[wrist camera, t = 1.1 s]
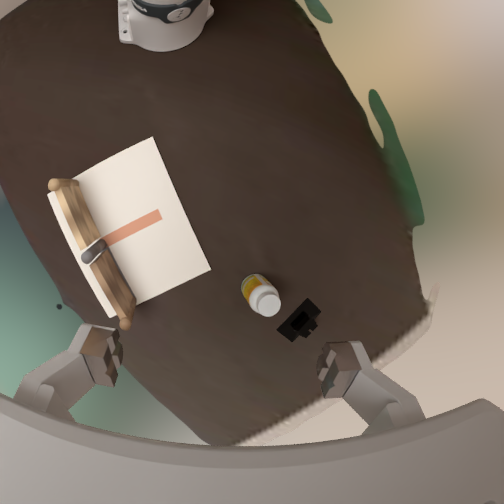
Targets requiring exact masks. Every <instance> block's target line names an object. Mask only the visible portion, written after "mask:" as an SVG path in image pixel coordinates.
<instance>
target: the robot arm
mask: <svg viewBox="0 0 504 504" xmlns="http://www.w3.org/2000/svg"><path fill="white" fill-rule="evenodd" d="M213 13H214V9H213V7H212V6H211V5H210V0H118V18H119V38H120V41H121V42H122V43H127V44H136V45H138V46H140V47H142V48H145V49H147V50H151V51H158V52H164V51H172V50H176V49H179V48H182V47H184V46H186V45H188V44H190V43H191V42H193V41H194V40H195V39H196V38H197V37H198V36H199V35H200V33H201V32H202V30H203V27H204V24H205V22H206V21H207V20H208V19H209V18H210V17H211V16H212V15H213ZM124 32H127V33H124ZM119 337H120V335H119V332H118V330H117V329H113V328H108V327H103V326H98V325H92V324H87V323H83V324H82V325H81V326H80V328H79V329H78V331H77V333H76V335H75V337H74V339H73V341H72V343H71V345H70V347H69V349H68V351H65V350H64V351H63V352H61V353H59V354H58V355H56V356H55V357H53V358H51V359H50V360H48V361H47V362H45V363H44V364H42V365H40V366H39V367H37V368H36V369H34V370H33V371H31V372H29V373H28V374H26V375H25V376H24V377H23V379H22V381H21V384H20V385H19V388H18V390H17V392H16V394H15V396H14V398H13V399H12V398H10V397H8V396H6V395H4V394H2V393H0V504H504V411H502V410H501V409H500V408H499V407H497V406H496V405H494V404H493V403H491V402H490V401H487V400H486V399H477V400H475V401H472V402H470V403H468V404H465V405H463V406H460V407H458V408H455V409H453V410H450V411H447V412H444V413H442V414H439V415H436V416H433V417H430V418H427V419H426V418H425V416H424V413H423V412H422V409H421V407H420V405H419V403H418V401H417V399H416V397H415V396H414V395H412V394H411V393H409V392H408V391H407V390H405V389H404V388H403V387H401V386H400V385H398V384H397V383H396V382H394V381H393V380H391V379H390V378H389V377H387V376H386V375H384V374H383V373H382V372H381V371H379V370H378V369H374V368H373V366H372V364H371V362H370V360H369V358H368V355H367V353H366V351H365V349H364V347H363V345H362V343H361V342H360V341H348V342H347V341H345V342H326V343H325V344H324V345H323V348H322V350H323V354H321V355H320V356H319V358H318V360H317V366H316V370H317V375H318V378H319V379H320V380H322V381H323V382H322V384H321V389H322V393H323V396H324V399H326V398H340V397H343V399H344V400H345V401H346V402H347V403H348V404H349V405H350V406H351V407H352V408H353V409H354V410H355V411H356V412H357V413H358V414H359V415H360V416H361V417H362V418H363V419H364V420H365V421H366V422H367V423H368V425H369V426H368V428H367V429H366V430H365V431H364V432H363V433H362V435H360V436H356V437H350V438H344V439H338V440H330V441H323V442H315V443H305V444H296V445H295V444H294V445H280V446H212V445H195V444H185V443H175V442H167V441H160V440H153V439H146V438H141V437H135V436H130V435H125V434H120V433H115V432H111V431H107V430H103V429H98V428H94V427H91V426H87V425H84V424H80V423H77V422H75V420H74V418H73V417H72V415H71V414H70V413H69V411H68V409H70V408H71V407H72V406H73V405H74V404H75V403H76V402H77V401H78V400H79V399H80V398H82V396H84V395H85V394H86V393H87V392H88V391H89V390H90V389H91V388H92V387H94V385H95V384H98V385H104V386H109V387H114V386H115V383H116V379H117V376H118V373H117V370H116V369H117V368H119V367H120V366H121V363H122V359H123V347H122V344H121V343H120V342H119V341H118V339H119Z"/></svg>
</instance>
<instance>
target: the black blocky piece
mask: <svg viewBox="0 0 504 504" xmlns="http://www.w3.org/2000/svg"><path fill="white" fill-rule="evenodd" d="M320 313H321V311H320V310H319V309H318V308H317V307H316V306H315V305H314V304H313V303H312V302H311V301H310V300H309V299H308V298H307V299H306V300H305V301H304V302H303V303H302V304H301V305H300V306H299V307H298V308H297V309H296V310H295V311H294V312H293V313H292V314H291V315H290V316H289V317H288V318H287V319H286V321H285V322H284V323H283V324H282V325H281V326H280V327H279V328H278V329H277V331H278V332H280V333H281V334H282V335H283V336H285V337H286V338H287V339H289V340H290V341H291V342H293V341H294V340H295V339H296V338H297V337H298V336H299V335H300V336H302V337H305V338H307V337H308V336H309V335H310V334H311V333H310V332H309V331H308V330H309V329H311V330H312V331H313V330H314V329H315V328H316V327H317V326H318V325H316V322H315V318H316V317H317V316H318V315H319V314H320Z"/></svg>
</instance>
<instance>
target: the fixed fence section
mask: <svg viewBox="0 0 504 504" xmlns="http://www.w3.org/2000/svg"><path fill="white" fill-rule="evenodd" d="M105 247H106V241H105V240H103V239H100V240H98V241H97V242H96V243H94V244H93V245H92V246H91V247H90V248H88V249H87V250H86V251H85V252H84V253H82V255H81V260H82V262H83V263H85V264H89V263H91V262H92V260H93V259H94V258H95V257H96V256H97V255H98V254H99V253H100V252H101V251H102V250H103V249H104V248H105ZM89 266H90V268H91V270H92V272H93V274H94V276H95V278H96V279H97V281H98V283H99V285H100V287H101V288H102V290H103V292H104V294H105V295H106V297H107V299H108V300H109V302H110V304H111V305H112V307H113V309H114V310H115V312H116V314H117V315H118V317H119V318H120V320H121V321H120V327H121V329H123V330H129V329H130V327H131V323H132V319H133V314H134V310H135V306H136V302H137V300H136V298H135V297H134V296H133V295H132V294H131V292H130V290H129V288H128V287H127V285H126V283H125V281H124V279H123V278H122V276H121V274H120V272H119V270H118V268H117V266H116V265H115V263H114V261H113V259H112V257H111V255H110V253H109V251H108V249H107V250H105V251H103V252H102V253H101V254H100V255H99V256H98V257H97V258H96V259H95V260H94V261H93V262H92V263H91V264H90V265H89Z"/></svg>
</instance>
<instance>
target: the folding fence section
mask: <svg viewBox="0 0 504 504" xmlns="http://www.w3.org/2000/svg"><path fill="white" fill-rule="evenodd" d="M48 188H49V190H50V191H54V192H55V194H56V197H57V199H58V202H59V204H60V207H61V209H62V211H63V214H64V216H65V218H66V221H67V223H68V225H69V227H70V229H71V232H72V234H73V236H74V238H75V240H76V242H77V244H78V246H79V248H80V250H83V249H85V248H86V247H88V246H89V245H90V244H92V243H93V242H94V241H95V240H97V239H98V238H99V237H101V236H100V234H99V231H98V229H97V227H96V225H95V223H94V221H93V218H92V216H91V214H90V212H89V209H88V207H87V205H86V203H85V200H84V198H83V195H82V193H81V191H80V188H79V181H78V180H76V179H51V180H50V181H49V183H48Z"/></svg>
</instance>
